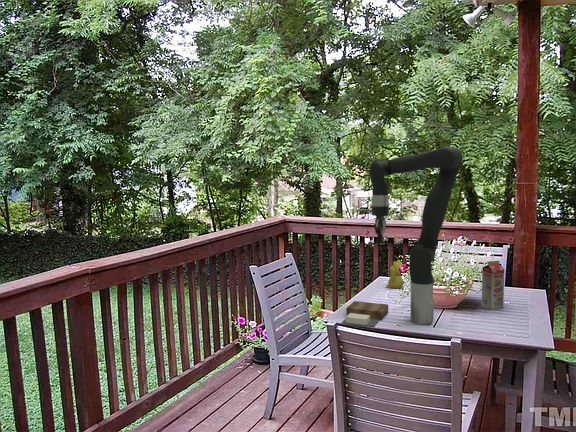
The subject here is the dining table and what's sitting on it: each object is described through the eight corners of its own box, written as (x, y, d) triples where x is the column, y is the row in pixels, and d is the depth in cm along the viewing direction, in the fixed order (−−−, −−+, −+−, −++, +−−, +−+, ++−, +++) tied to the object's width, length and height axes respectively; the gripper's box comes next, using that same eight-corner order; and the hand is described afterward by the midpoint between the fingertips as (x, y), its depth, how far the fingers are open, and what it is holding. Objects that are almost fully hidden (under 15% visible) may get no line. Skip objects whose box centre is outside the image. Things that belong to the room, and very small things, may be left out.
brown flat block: (388, 313, 225) (388, 304, 225) (381, 320, 214) (381, 311, 214) (354, 309, 232) (354, 301, 231) (346, 316, 221) (346, 307, 220)
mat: (379, 320, 214) (379, 319, 214) (373, 327, 206) (373, 326, 206) (348, 317, 220) (348, 315, 220) (341, 323, 211) (341, 322, 211)
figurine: (392, 284, 279) (392, 258, 277) (407, 286, 273) (407, 259, 272) (383, 288, 269) (384, 261, 268) (399, 290, 264) (399, 263, 263)
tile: (366, 319, 207) (366, 325, 207) (370, 315, 212) (370, 321, 212) (345, 316, 211) (345, 322, 211) (350, 312, 216) (350, 318, 216)
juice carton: (481, 306, 233) (482, 260, 231) (493, 304, 235) (494, 259, 233) (491, 310, 227) (492, 262, 224) (503, 308, 229) (504, 261, 227)
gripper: (385, 206, 215) (384, 245, 217) (391, 203, 227) (391, 241, 229) (368, 205, 218) (368, 244, 220) (375, 203, 230) (375, 240, 232)
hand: (380, 242), depth 224 cm, fingers closed
